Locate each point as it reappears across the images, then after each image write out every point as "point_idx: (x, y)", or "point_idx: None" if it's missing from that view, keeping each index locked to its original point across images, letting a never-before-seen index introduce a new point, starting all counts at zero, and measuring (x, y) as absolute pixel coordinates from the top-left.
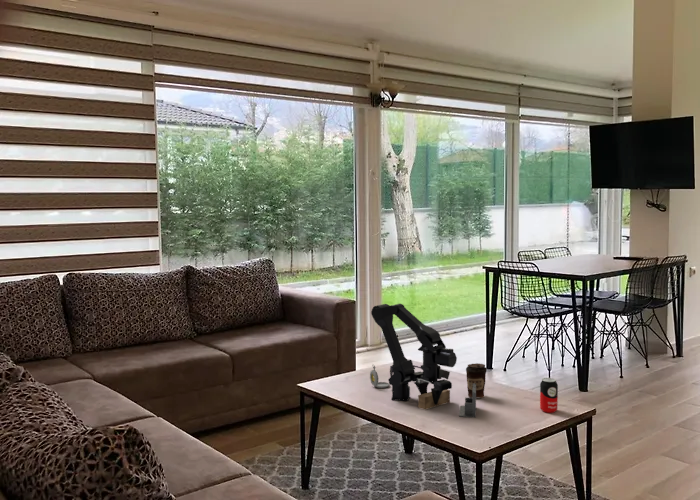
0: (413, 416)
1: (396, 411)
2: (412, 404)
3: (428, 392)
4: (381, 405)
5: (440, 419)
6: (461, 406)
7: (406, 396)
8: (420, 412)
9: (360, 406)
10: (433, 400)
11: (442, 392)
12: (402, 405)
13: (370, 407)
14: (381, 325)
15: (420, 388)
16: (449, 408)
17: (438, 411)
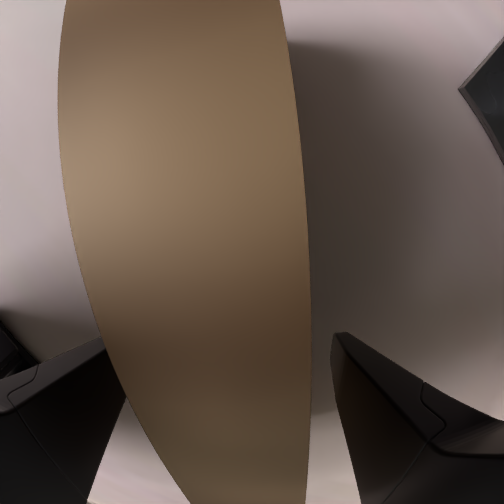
0: (340, 490)
1: None
2: (127, 403)
3: (140, 420)
4: (97, 477)
5: (483, 411)
6: (486, 104)
7: (13, 371)
8: (322, 457)
9: (93, 499)
10: (342, 413)
11: (303, 184)
12: (125, 445)
13: (113, 500)
14: None
15: (82, 496)
16: (440, 221)
17: (414, 362)
